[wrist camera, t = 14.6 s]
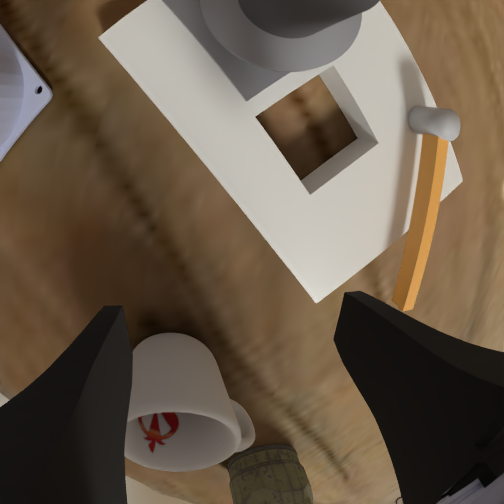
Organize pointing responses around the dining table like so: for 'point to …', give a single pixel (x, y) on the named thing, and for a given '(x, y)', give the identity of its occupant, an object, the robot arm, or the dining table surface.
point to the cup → (181, 407)
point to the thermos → (269, 476)
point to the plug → (285, 30)
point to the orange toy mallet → (425, 196)
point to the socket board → (266, 152)
